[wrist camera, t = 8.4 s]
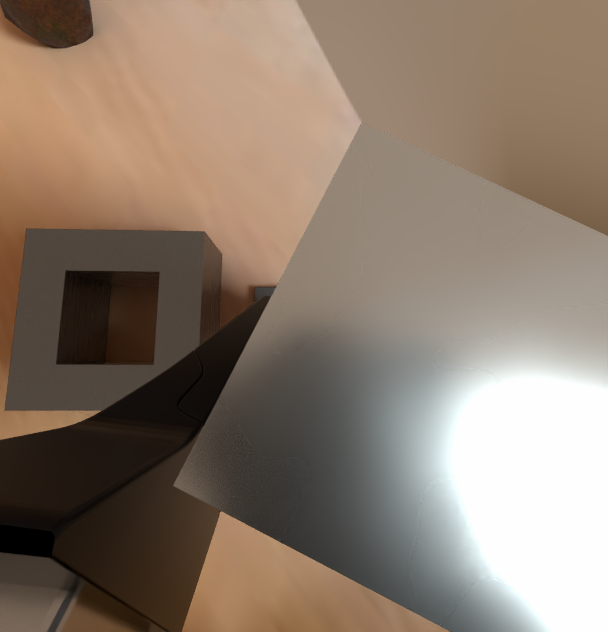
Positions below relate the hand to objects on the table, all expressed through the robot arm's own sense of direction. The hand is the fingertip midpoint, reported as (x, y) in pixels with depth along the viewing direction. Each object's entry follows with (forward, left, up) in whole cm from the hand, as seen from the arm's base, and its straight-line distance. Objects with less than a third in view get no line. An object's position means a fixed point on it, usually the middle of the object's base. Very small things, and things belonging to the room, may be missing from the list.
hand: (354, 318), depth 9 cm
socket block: (+1, +12, -11) cm, 16 cm away
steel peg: (-1, 0, -8) cm, 8 cm away
